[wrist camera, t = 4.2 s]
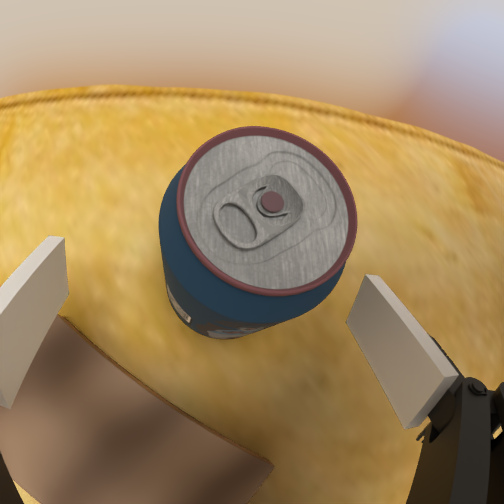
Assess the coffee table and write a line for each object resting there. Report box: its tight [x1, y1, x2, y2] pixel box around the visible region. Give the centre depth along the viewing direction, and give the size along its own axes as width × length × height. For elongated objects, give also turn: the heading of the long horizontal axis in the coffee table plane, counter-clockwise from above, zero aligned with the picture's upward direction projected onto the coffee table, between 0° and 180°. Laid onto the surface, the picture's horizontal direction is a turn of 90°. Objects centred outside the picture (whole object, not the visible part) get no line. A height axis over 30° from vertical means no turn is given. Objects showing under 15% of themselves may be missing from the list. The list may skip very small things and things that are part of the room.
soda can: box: [159, 126, 357, 339], centre depth 15 cm, size 7×7×12 cm
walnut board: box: [0, 314, 274, 504], centre depth 14 cm, size 16×12×2 cm
